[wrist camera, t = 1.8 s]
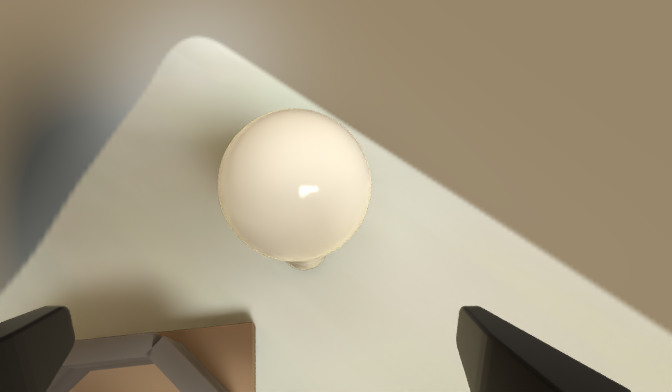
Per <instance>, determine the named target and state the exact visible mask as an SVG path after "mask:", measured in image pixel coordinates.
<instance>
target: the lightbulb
mask: <svg viewBox="0 0 672 392" xmlns="http://www.w3.org/2000/svg"><path fill="white" fill-rule="evenodd" d="M370 195H371V175H370V170H369V165H368V162H367V159H366V157H365V154H364V152H363V150H362V148H361V146H360V145H359V143H358V142H357V140H356V139H355V138H354V136H353V135H352V134H351V133H350V132H349V131H348V130H347V129H346V128H345V127H344V126H342V125H341V124H340V123H338V122H337V121H335V120H334V119H332V118H330V117H328V116H326V115H324V114H321V113H318V112H315V111H311V110H305V109H283V110H278V111H274V112H270V113H267V114H265V115H263V116H260V117H258V118H257V119H255V120H253V121H252V122H250V123H249V124H247V125H246V126H245V127H244V128H243V129H242V130H241V131H239V133H238V134H237V135H236V136H235V137H234V138H233V140H232V141H231V142H230V144H229V146H228V147H227V149H226V151H225V153H224V156H223V158H222V161H221V164H220V168H219V174H218V196H219V201H220V205H221V209H222V211H223V214H224V216H225V219H226V220H227V222H228V224H229V226H230V227H231V229H232V230H233V231H234V233H235V234H236V235H237V236H238V237H239V238H240V239H241V240H242V241H243V242H244V243H245V244H246V245H248V246H249V247H250V248H252V249H253V250H255V251H257V252H258V253H260V254H263V255H265V256H267V257H270V258H273V259H277V260H282V261H286V262H287V263H288V264H289V265H290V266H292V267H293V268H296V269H299V270H308V269H312V268H314V267H316V266H318V265H319V264H320V263H321V262H322V261H323V260H324V258H325V256H326V255H327V254H329V253H331V252H333V251H334V250H336V249H338V248H339V247H340V246H342V245H343V244H344V243H345V242H346V241H347V240H349V239H350V237H351V236H352V235H353V234H354V233H355V232H356V230H357V229H358V227H359V226H360V224H361V222H362V221H363V219H364V217H365V214H366V212H367V209H368V205H369V201H370Z"/></svg>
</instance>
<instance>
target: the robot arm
mask: <svg viewBox="0 0 672 392" xmlns="http://www.w3.org/2000/svg"><path fill="white" fill-rule="evenodd" d="M74 342H75V335H74V330H73V325H72V320H71V315H70V311H69V309H68V308H67V307H65V306H45V307H42V308H39V309H36V310H34V311H31V312H28V313H25V314H23V315H20V316H17V317H15V318H12V319H9V320H6V321H4V322H1V323H0V392H46V391H47V390H48V388H49V386H50V385H51V383H52V381H53V380H54V378H55V377H56V375H57V373H58V372H59V370H60V368H61V367H62V365H63V363H64V362H65V360H66V359H67V357H68V355H69V354H70V352H71V350H72V348H73V346H74ZM456 342H457V348H458V351H459V355H460V358H461V361H462V364H463V368H464V371H465V374H466V378H467V381H468V384H469V387H470V391H471V392H631V391H630V390H629V389H627V388H626V387H624V386H622V385H620V384H618V383H617V382H615V381H613V380H611V379H609V378H607V377H606V376H604V375H602V374H600V373H598V372H597V371H595V370H593V369H591V368H589V367H588V366H586V365H584V364H582V363H580V362H579V361H577V360H575V359H573V358H571V357H570V356H568V355H566V354H564V353H562V352H561V351H559V350H557V349H555V348H553V347H552V346H550V345H548V344H546V343H544V342H543V341H541V340H539V339H537V338H535V337H534V336H532V335H530V334H528V333H526V332H525V331H523V330H521V329H519V328H517V327H516V326H514V325H512V324H510V323H508V322H507V321H505V320H503V319H501V318H499V317H498V316H496V315H494V314H492V313H490V312H489V311H487V310H485V309H483V308H481V307H479V306H463V307H461V309H460V311H459V318H458V327H457V335H456Z"/></svg>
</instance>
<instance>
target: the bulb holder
mask: <svg viewBox="0 0 672 392" xmlns="http://www.w3.org/2000/svg"><path fill="white" fill-rule="evenodd" d="M46 392H256V355H255V325H254V324H253V323H252V322H250V323H240V324H231V325H222V326H212V327H203V328H194V329H184V330H175V331H165V332H156V333H154V332H151V333H141V334H132V335H123V336H113V337H104V338H94V339H85V340H76V341H75V342H74V346H73V348H72V350H71V352H70V354H69V355H68V357H67V359H66V360H65V362H64V363H63V365H62V367H61V368H60V370H59V372H58V373H57V375H56V377H55V378H54V380H53V381H52V383H51V385H50V386H49V388H48V390H47V391H46Z"/></svg>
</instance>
